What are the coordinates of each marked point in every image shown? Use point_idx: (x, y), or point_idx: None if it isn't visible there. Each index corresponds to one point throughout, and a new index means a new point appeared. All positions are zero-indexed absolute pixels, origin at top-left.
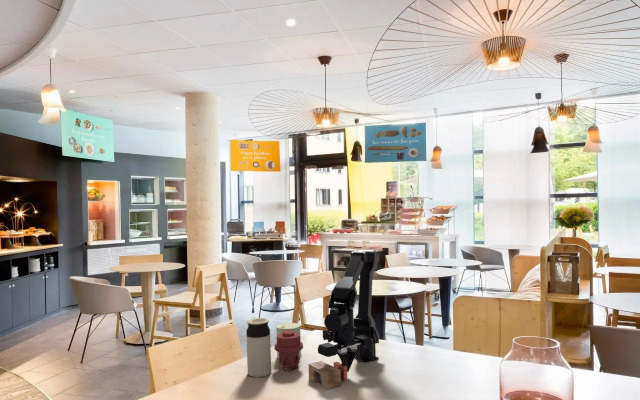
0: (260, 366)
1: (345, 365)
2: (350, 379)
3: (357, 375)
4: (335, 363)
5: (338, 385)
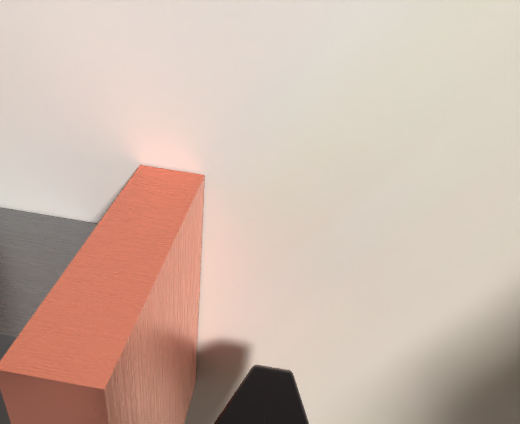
0: None
1: None
2: None
3: (429, 376)
4: (22, 420)
5: None
